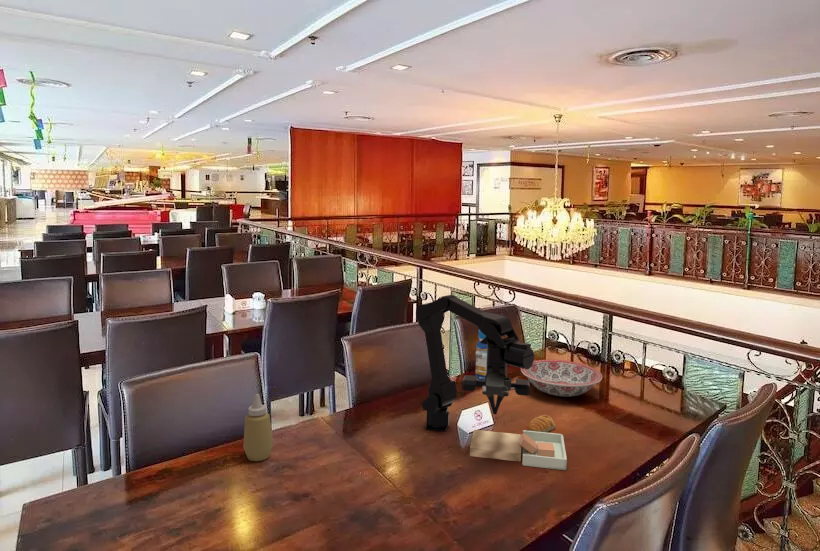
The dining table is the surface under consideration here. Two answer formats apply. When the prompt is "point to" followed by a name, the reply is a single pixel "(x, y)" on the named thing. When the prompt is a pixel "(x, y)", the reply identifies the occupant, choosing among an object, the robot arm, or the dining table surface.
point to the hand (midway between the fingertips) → (494, 413)
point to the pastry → (541, 424)
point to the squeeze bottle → (257, 432)
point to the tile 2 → (545, 449)
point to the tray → (542, 461)
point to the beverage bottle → (481, 357)
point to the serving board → (496, 445)
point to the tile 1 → (528, 443)
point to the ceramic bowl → (562, 377)
